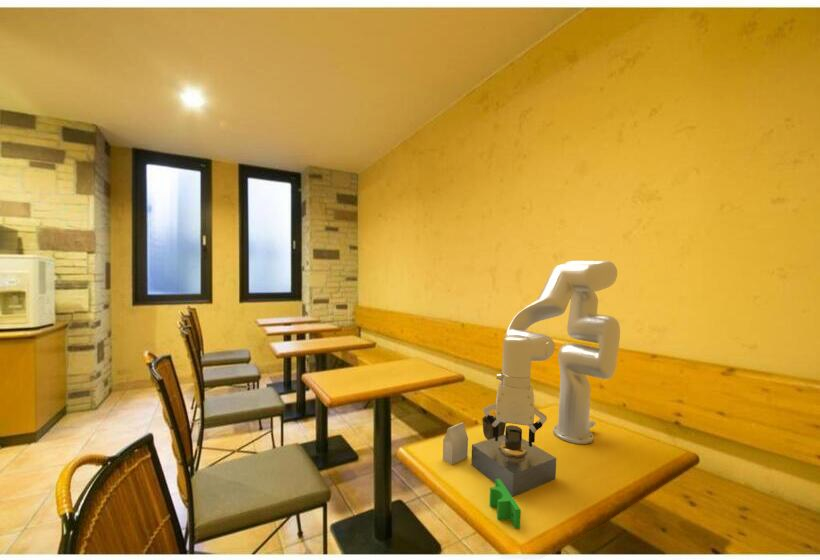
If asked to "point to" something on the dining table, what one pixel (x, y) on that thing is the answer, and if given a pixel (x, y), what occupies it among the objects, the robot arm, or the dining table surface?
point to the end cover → (513, 442)
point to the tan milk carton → (455, 444)
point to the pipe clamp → (504, 504)
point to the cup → (489, 428)
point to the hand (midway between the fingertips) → (513, 441)
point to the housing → (514, 465)
